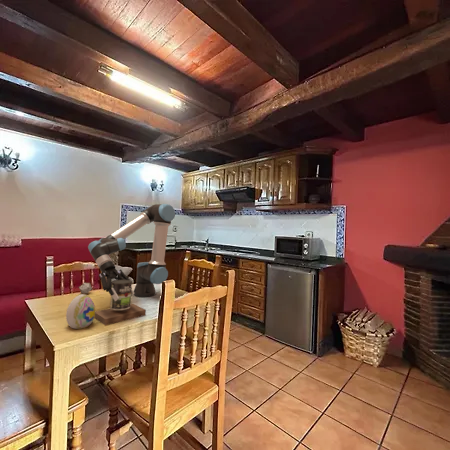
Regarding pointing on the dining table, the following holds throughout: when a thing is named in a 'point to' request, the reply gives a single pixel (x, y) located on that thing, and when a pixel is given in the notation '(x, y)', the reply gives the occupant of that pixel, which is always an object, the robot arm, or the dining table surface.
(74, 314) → the decorative egg
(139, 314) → the walnut board
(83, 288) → the game die
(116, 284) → the coffee can
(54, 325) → the dining table surface
